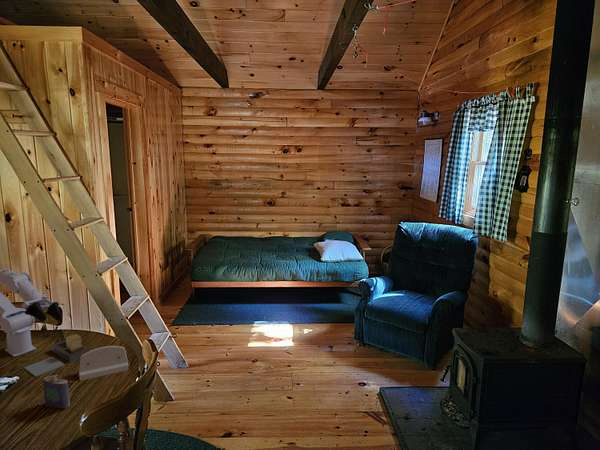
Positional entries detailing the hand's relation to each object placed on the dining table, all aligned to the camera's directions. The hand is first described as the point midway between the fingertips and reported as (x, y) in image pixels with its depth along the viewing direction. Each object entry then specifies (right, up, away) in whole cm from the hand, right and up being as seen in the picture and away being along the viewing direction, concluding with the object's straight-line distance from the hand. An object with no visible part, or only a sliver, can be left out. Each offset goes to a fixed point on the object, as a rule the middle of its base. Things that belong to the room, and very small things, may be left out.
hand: (52, 319), depth 146 cm
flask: (+16, -23, -22) cm, 36 cm away
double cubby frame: (0, -16, +11) cm, 20 cm away
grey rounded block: (+21, -19, -2) cm, 28 cm away
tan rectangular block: (+3, -17, +9) cm, 19 cm away
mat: (-3, -18, 0) cm, 18 cm away
